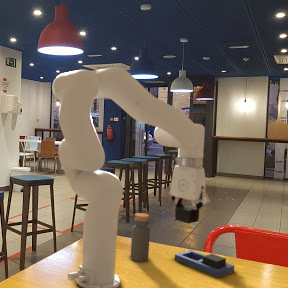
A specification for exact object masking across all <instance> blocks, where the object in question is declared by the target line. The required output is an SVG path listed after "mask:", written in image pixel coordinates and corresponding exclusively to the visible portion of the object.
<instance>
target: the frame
mask: <svg viewBox="0 0 288 288" xmlns="http://www.w3.org/2000/svg"><path fill="white" fill-rule="evenodd" d="M206 255H207V254H203V253H201V252H198V251H194V250H193V249H188V250H185V251H182V252H178V253H174V261H176V262H178V263H180V264H183V265H186V266H188V267H191V268H193V269H195V270H198V271H201V272H203V273H206V274H208V275H211V276H213V277H216V278H217V279H218V278H222V277H224V276H227V275H229V274H233V273H234V272H235V265H234V264H231V263H229V262H226V265H225V266H224V267H221V268H218V269H216V268H214V267H211V266H209V265H206V264H203V256H206Z"/></svg>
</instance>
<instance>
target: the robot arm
mask: <svg viewBox="0 0 288 288" xmlns="http://www.w3.org/2000/svg"><path fill="white" fill-rule="evenodd" d="M52 93H53V95H54V97H55V99H57V100H58V101H59V102H61V103H60V105H59V111H58V123H59V124H58V125H59V127H60V130H61V132H62V133H61V134H62V136H63V139H62V140H61V142H60V143H59V146H58V149H57V154H58V159H59V163H60V165H61V167H62V170H63V173H64V174H65V177H66V179H67V181H68V184H69V186H70V187H71V190H72V191H73V192H74V194H75V195H76V196H78V197H79V198H81V199H83V200H85V201H88V204H87V207H86V209H85V211H84V217H83V226H82V227H83V228H82V248H81V249H82V250H81V265H79V266H78V269H77V270H76V271H75V272H74V271H73V272H70V273H67V279H68V281H70V282H71V281H74V280H75V282H76V284H77V285H79V286H80V287H81V288H119V286H120V284H121V279H120V277H119V275H118V274H116V261H117V260H116V259H117V258H116V255H117V241H118V224H119V212H120V207H121V203H122V199H123V195H124V187H123V183H122V181H121V180H120V179H119V177H118V176H116V175H115V174H113V173H111V172H109V171H106V170H102V169H101V168H102V167H103V166H104V164H105V162H106V154H105V150H104V147H103V146H102V142H101V141H100V138H99V136H98V133H97V131H96V128H95V125H94V123H93V119H92V115H91V114H92V107H93V103H94V101H95V100H97V99H98V100H99V99H110V100H112V101H113V102H114V103H115V104H117V106H118V107H120V108H121V109H122V110H123V111H124V112H125V113H127V115H129V116H130V117H131V118H132V119H134V120H135V121H138V122H140V123H143V124H145V125H149V126H152V127H155V129H154V131H153V137H154V140H155V141H156V143H157V144H159V145H161V146H164V147H169V148H177V156H176V157H175V159H174V160H175V162H177V163H176V165H174V168H173V172H172V176H171V182H170V189H168V191H167V194H168V195H169V196H170V197H171V199H172V201H173V204H174V206H175V207H174V208H175V209H174V210H175V211H174V213H176V207H181V206H184V204H183V202H184V200H187V201H191V207H192V208H193V209H191V222H193V223H197V222H199V218H200V210H201V209H202V208H203V207H204V206H205V205H207V204H208V203H210V202H211V200H210V199H209V196H208V195H207V192H206V173H205V168H204V167H203V164H204V149H205V148H204V145H205V132H206V131H205V130H206V129H205V126H204V125H203V124H201V123H194V121H193V120H191V119H190V118H189V117H188V116H187V114H185V113H184V112H182V111H181V110H179V109H178V108H177V107H175V106H173V105H171V104H169V103H167V102H165V101H164V100H162V99H161V98H160V99H159V98H157V97H156V96H154V95H152V93H151V92H150V91H148V89H146V87H144V86H143V85H142V84H141V83H140V81H138V79H136V78H135V77H134V76H132V74H131V73H130V72H129V71H127V69H124V68H123V67H120V66H110V67H106V68H99V69H95V70H89V69H78V70H72V71H68V72H63V73H60V74H59V75H57V76H56V78H55V79H54V80H53V82H52ZM196 221H197V222H196Z"/></svg>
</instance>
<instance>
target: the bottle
mask: <svg viewBox="0 0 288 288" xmlns="http://www.w3.org/2000/svg"><path fill="white" fill-rule="evenodd" d="M149 218H150V215H149V214H147V213H143V212H136V213H134V218H133V223H134V225H133V226H132V228H131V238H130V239H131V240H130V259H131V260H132V261H133V262H139V263H144V262H147V261H148V260H149V252H150V238H151V237H150V235H151V233H150V232H151V228H150V226H148V225H150V220H149Z"/></svg>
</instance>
